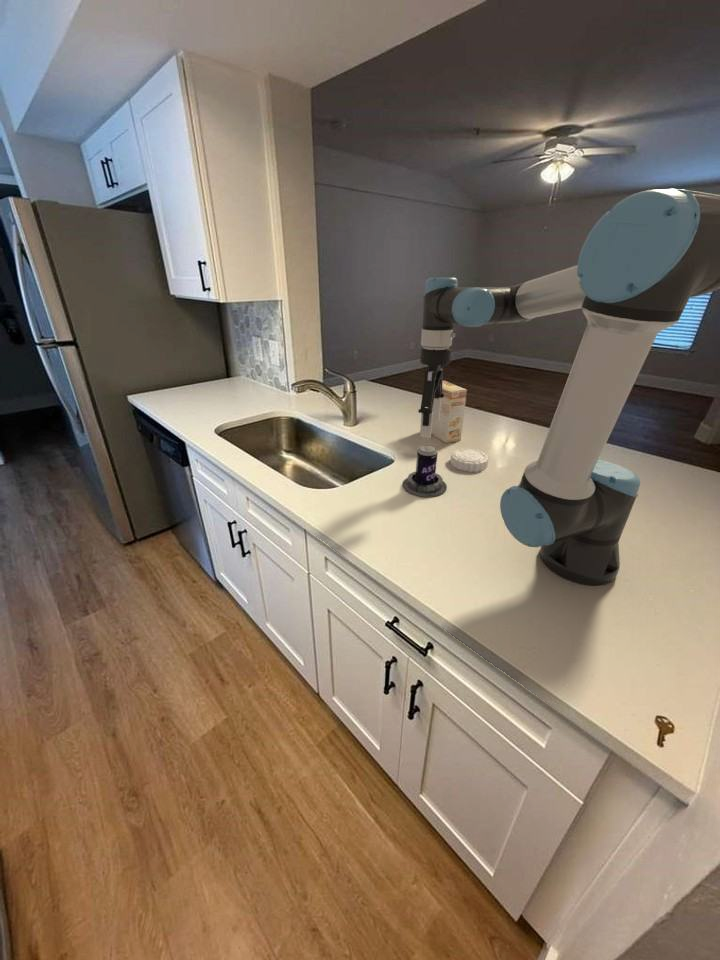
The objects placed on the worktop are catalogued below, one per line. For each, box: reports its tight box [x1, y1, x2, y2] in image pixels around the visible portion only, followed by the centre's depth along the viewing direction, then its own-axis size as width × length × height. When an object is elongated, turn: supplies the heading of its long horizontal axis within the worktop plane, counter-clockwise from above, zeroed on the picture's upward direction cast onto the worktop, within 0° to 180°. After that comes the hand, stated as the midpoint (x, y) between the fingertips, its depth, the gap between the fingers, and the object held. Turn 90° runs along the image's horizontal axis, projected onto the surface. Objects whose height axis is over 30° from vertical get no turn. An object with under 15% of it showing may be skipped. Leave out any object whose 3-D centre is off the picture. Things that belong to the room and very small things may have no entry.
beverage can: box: [415, 444, 438, 485], centre depth 112 cm, size 6×6×12 cm
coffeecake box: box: [426, 380, 468, 444], centre depth 147 cm, size 15×7×20 cm, turn 22°
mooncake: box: [449, 448, 489, 473], centre depth 128 cm, size 12×12×4 cm
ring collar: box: [402, 471, 448, 498], centre depth 115 cm, size 13×13×3 cm
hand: (429, 428), depth 106 cm, fingers open, 13 cm apart
